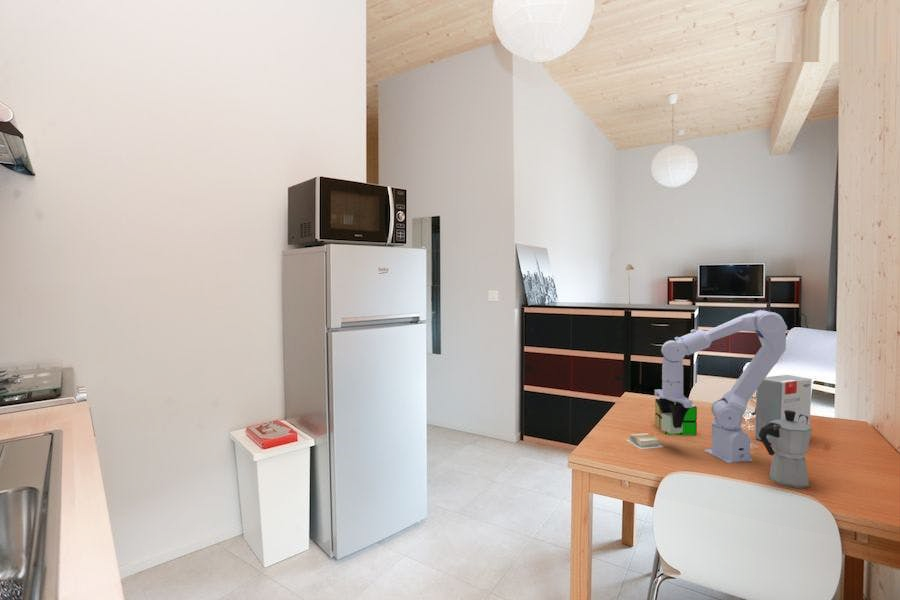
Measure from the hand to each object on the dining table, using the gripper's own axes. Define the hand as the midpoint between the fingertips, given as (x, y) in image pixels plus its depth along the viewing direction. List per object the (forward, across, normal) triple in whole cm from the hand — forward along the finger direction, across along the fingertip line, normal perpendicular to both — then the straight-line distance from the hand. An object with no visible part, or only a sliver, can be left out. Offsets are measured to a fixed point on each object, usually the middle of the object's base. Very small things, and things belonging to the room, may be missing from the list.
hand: (672, 424), depth 135 cm
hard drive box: (+8, -1, +40) cm, 41 cm away
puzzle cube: (+8, -15, +12) cm, 20 cm away
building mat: (+8, -5, -4) cm, 10 cm away
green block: (+2, 0, 0) cm, 2 cm away
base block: (+7, -5, -6) cm, 11 cm away
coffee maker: (+8, +24, +14) cm, 29 cm away
